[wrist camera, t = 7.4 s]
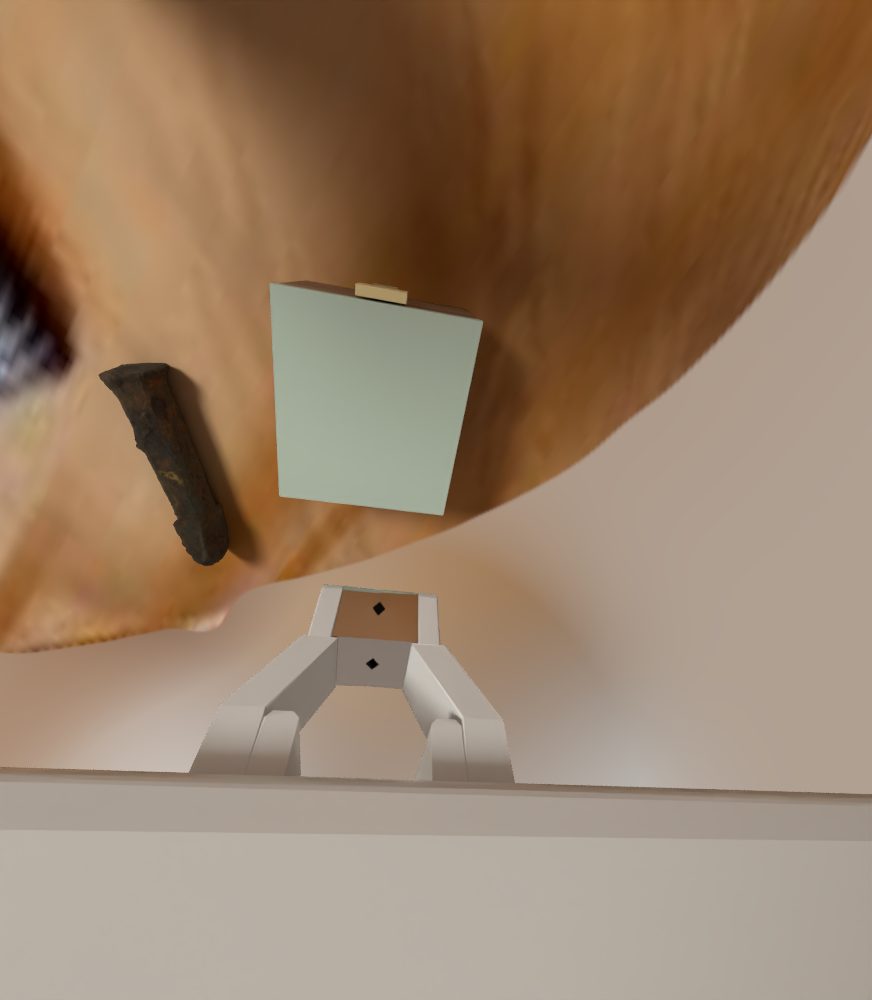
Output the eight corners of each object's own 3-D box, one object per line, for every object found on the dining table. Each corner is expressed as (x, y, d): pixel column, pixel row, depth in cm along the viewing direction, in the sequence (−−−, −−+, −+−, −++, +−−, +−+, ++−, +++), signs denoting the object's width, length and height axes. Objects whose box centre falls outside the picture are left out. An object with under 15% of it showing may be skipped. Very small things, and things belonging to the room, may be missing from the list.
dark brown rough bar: (123, 359, 31) (78, 373, 27) (173, 358, 31) (136, 371, 27) (202, 547, 40) (178, 577, 36) (240, 545, 41) (220, 576, 37)
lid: (283, 268, 24) (268, 267, 21) (479, 304, 25) (486, 307, 23) (289, 479, 31) (279, 496, 29) (441, 498, 32) (443, 515, 30)
